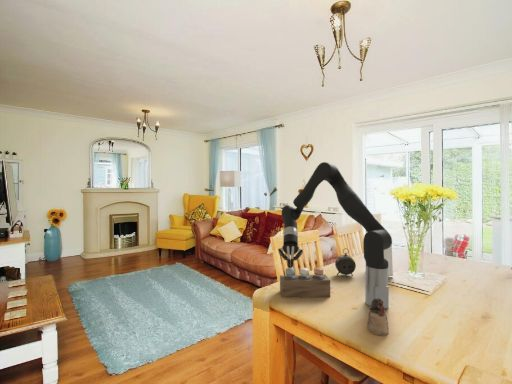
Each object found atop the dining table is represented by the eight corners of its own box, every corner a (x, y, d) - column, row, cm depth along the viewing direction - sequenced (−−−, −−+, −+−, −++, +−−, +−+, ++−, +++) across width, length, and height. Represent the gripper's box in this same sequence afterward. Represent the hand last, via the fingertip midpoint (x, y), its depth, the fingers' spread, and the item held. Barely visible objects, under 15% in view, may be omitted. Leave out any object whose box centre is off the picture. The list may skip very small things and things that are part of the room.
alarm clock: (353, 274, 160) (354, 247, 159) (356, 277, 155) (356, 249, 154) (334, 274, 161) (335, 247, 161) (336, 277, 156) (336, 249, 155)
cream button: (310, 275, 130) (310, 270, 130) (301, 275, 130) (301, 270, 130) (307, 272, 134) (307, 267, 134) (299, 272, 134) (299, 267, 134)
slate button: (295, 275, 130) (295, 270, 130) (286, 276, 130) (286, 271, 130) (293, 272, 134) (293, 268, 134) (285, 272, 134) (285, 268, 134)
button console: (330, 296, 129) (330, 279, 129) (282, 297, 128) (282, 280, 128) (325, 290, 137) (325, 273, 137) (280, 291, 136) (280, 274, 136)
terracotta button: (324, 275, 130) (324, 270, 130) (315, 275, 130) (315, 270, 130) (321, 272, 135) (321, 267, 135) (313, 272, 135) (313, 267, 135)
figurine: (382, 325, 103) (382, 294, 103) (392, 335, 96) (392, 302, 96) (364, 325, 103) (364, 294, 102) (372, 336, 96) (373, 302, 95)
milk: (388, 271, 166) (389, 229, 165) (392, 277, 155) (393, 232, 154) (367, 269, 169) (368, 228, 168) (370, 275, 158) (370, 231, 157)
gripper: (277, 233, 142) (276, 263, 130) (303, 233, 140) (304, 263, 128) (278, 240, 147) (277, 270, 136) (303, 241, 146) (303, 271, 134)
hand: (290, 267), depth 132 cm, fingers closed
